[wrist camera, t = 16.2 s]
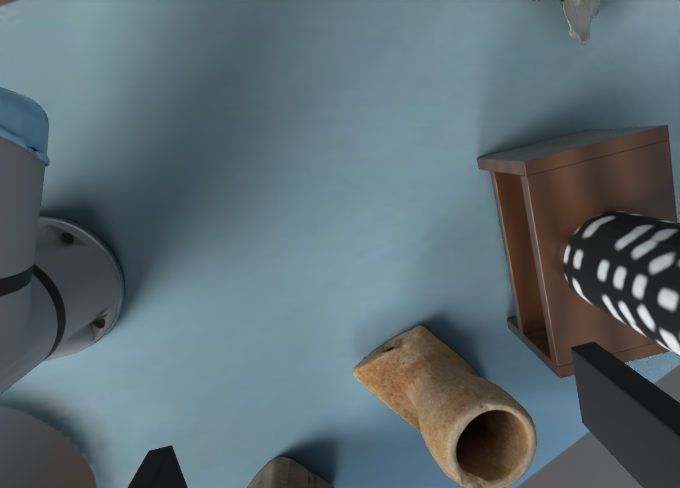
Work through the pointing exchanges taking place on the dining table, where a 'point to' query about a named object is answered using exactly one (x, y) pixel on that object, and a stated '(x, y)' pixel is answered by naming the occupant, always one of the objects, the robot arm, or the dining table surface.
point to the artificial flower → (580, 17)
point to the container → (286, 476)
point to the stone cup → (452, 409)
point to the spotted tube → (630, 272)
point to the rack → (574, 230)
